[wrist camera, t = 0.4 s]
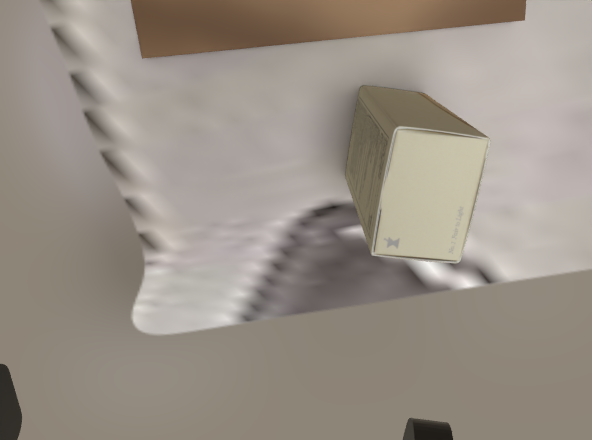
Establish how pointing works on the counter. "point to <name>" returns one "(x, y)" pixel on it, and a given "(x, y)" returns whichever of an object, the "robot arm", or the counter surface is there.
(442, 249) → the skincare box
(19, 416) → the robot arm
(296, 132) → the counter surface
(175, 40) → the walnut board
